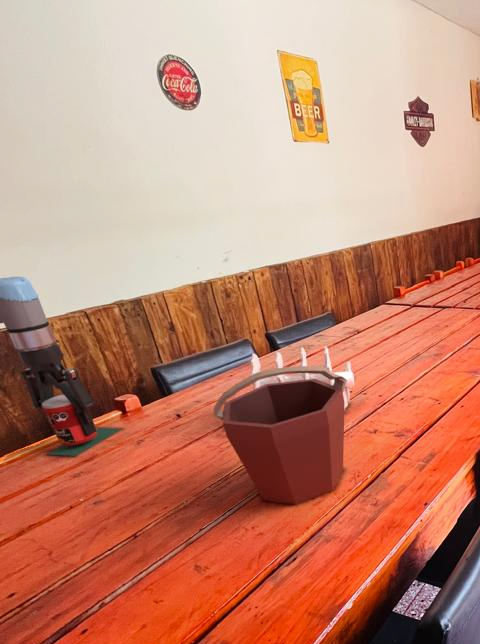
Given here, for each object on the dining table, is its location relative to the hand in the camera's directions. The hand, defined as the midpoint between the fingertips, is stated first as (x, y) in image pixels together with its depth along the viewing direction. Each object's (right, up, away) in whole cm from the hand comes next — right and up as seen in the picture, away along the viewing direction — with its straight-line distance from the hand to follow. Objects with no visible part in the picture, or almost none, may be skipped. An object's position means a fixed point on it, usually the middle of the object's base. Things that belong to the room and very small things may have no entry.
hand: (77, 432), depth 128 cm
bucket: (+64, -10, -21) cm, 68 cm away
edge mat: (0, -2, +2) cm, 3 cm away
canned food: (0, -2, +1) cm, 2 cm away
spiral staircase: (+55, +5, +11) cm, 57 cm away
